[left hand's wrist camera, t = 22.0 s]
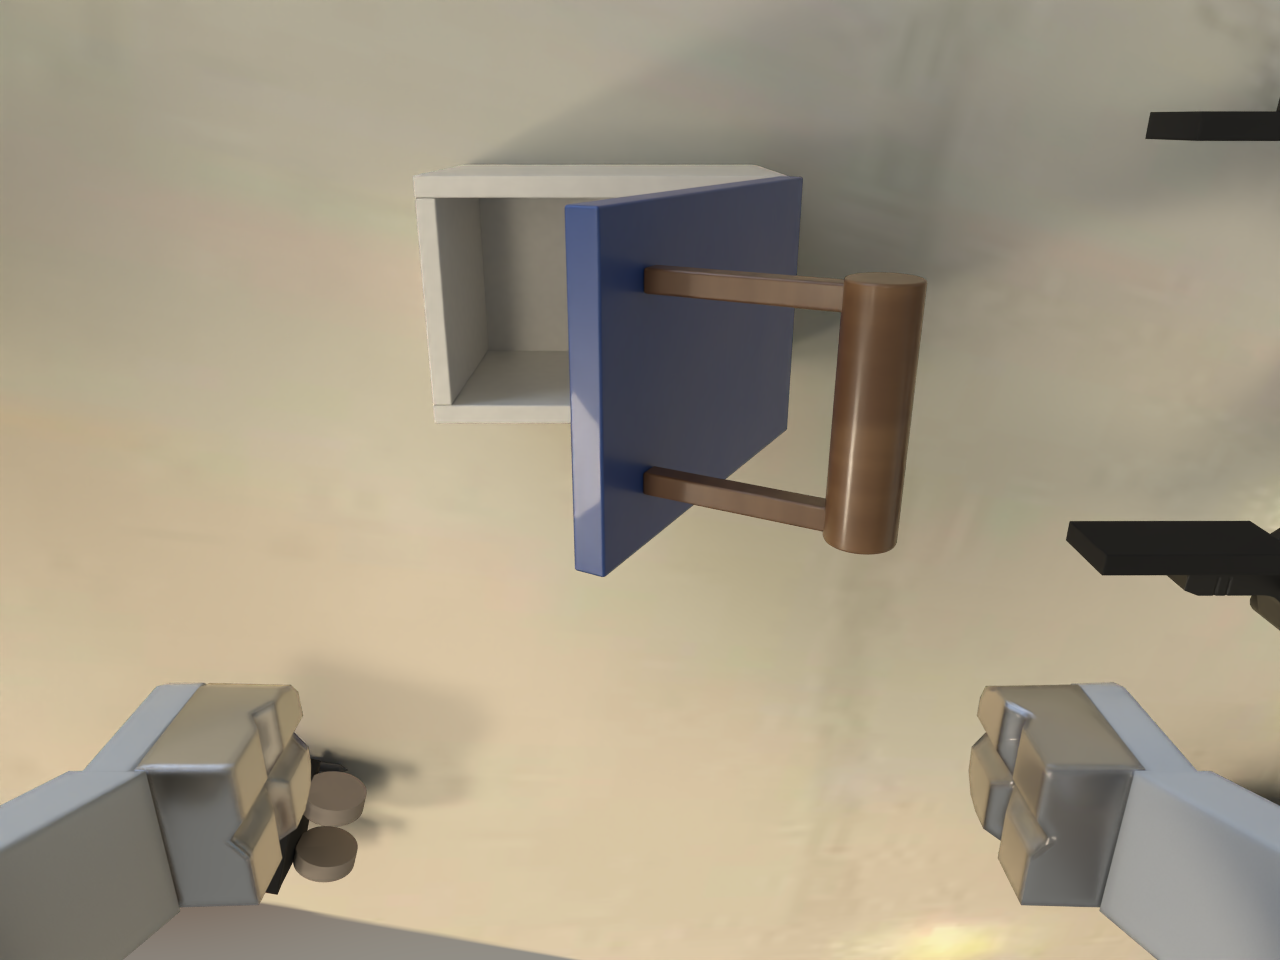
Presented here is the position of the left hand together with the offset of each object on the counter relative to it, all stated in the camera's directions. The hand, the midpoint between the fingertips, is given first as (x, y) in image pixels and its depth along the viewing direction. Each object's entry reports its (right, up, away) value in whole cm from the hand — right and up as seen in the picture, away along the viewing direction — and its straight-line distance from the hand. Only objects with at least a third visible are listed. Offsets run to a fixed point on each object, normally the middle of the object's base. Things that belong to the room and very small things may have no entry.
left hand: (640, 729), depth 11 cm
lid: (+2, +7, +19) cm, 20 cm away
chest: (-2, +14, +35) cm, 38 cm away
